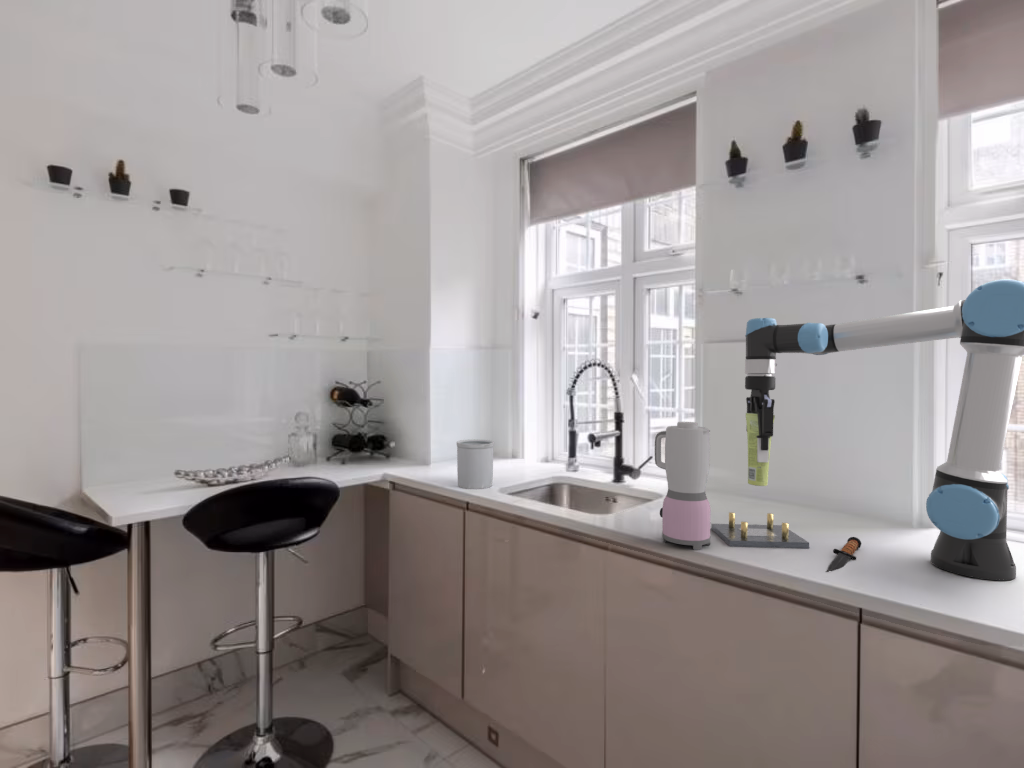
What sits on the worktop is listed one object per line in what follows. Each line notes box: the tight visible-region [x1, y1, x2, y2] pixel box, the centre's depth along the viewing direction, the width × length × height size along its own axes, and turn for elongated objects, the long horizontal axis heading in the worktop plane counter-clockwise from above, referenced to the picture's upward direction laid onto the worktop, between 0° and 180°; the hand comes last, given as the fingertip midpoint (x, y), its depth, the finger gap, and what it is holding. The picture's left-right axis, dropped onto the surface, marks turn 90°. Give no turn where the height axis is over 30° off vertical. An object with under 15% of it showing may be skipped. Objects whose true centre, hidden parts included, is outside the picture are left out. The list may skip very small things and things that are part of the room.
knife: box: [825, 536, 862, 573], centre depth 132 cm, size 25×3×5 cm
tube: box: [745, 412, 776, 487], centre depth 148 cm, size 6×5×20 cm
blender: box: [654, 421, 712, 551], centre depth 145 cm, size 16×12×32 cm
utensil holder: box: [456, 438, 495, 490], centre depth 215 cm, size 15×15×18 cm
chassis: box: [710, 511, 810, 549], centre depth 148 cm, size 16×20×6 cm
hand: (758, 460), depth 148 cm, fingers closed on tube, 5 cm apart
